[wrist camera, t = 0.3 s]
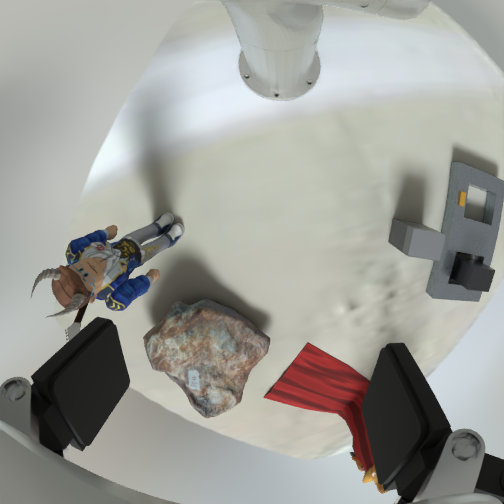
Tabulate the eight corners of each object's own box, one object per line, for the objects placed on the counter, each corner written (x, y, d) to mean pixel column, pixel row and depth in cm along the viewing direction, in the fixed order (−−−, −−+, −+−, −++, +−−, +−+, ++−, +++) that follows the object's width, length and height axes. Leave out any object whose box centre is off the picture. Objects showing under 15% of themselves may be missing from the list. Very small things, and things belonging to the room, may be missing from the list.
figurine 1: (199, 241, 45) (88, 342, 17) (177, 264, 47) (68, 372, 18) (156, 198, 44) (10, 243, 15) (136, 223, 45) (-1, 287, 17)
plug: (392, 218, 41) (413, 228, 33) (422, 224, 40) (445, 234, 33) (388, 242, 42) (407, 256, 34) (417, 246, 41) (439, 261, 34)
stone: (151, 279, 48) (125, 303, 39) (276, 301, 47) (274, 332, 37) (157, 371, 55) (139, 401, 45) (258, 393, 53) (254, 427, 44)
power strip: (451, 162, 36) (477, 162, 29) (496, 180, 35) (522, 184, 28) (425, 291, 43) (445, 311, 36) (471, 295, 42) (491, 312, 35)
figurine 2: (350, 425, 54) (364, 509, 31) (263, 397, 54) (251, 497, 30) (398, 379, 49) (433, 467, 25) (307, 342, 48) (318, 455, 25)
